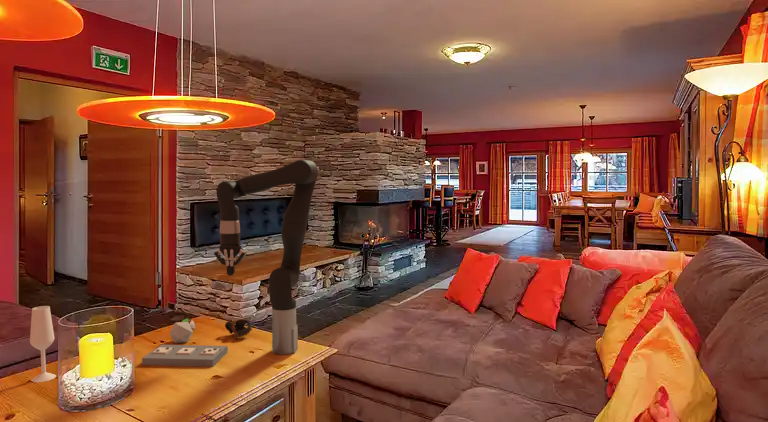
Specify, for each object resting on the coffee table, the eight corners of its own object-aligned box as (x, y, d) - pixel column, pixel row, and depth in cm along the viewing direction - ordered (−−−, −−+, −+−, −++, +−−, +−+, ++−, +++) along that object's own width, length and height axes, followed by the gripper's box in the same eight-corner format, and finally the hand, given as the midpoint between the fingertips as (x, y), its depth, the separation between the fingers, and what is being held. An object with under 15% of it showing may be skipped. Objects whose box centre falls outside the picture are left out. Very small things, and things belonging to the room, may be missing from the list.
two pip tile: (172, 355, 181) (172, 346, 181) (166, 360, 176) (165, 351, 176) (159, 355, 181) (159, 346, 181) (152, 360, 176) (152, 351, 176)
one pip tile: (195, 355, 181) (195, 347, 180) (190, 360, 176) (189, 352, 175) (183, 355, 181) (182, 347, 181) (176, 360, 176) (176, 351, 176)
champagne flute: (61, 374, 163) (58, 305, 161) (43, 383, 156) (40, 311, 155) (44, 373, 164) (41, 304, 162) (26, 381, 157) (23, 310, 156)
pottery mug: (254, 333, 210) (255, 319, 205) (245, 349, 202) (246, 335, 197) (228, 325, 210) (229, 312, 206) (218, 341, 202) (219, 327, 198)
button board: (227, 352, 185) (227, 345, 185) (213, 366, 171) (213, 359, 171) (162, 350, 186) (161, 344, 186) (142, 364, 172) (142, 358, 172)
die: (181, 348, 191) (195, 326, 194) (162, 337, 191) (177, 315, 194) (185, 348, 199) (199, 327, 202) (167, 338, 199) (181, 317, 202)
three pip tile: (219, 356, 180) (219, 347, 180) (214, 361, 175) (213, 352, 175) (206, 356, 181) (206, 347, 180) (200, 361, 176) (200, 352, 175)
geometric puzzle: (172, 330, 204) (181, 316, 203) (182, 325, 211) (191, 312, 210) (183, 341, 204) (193, 327, 202) (193, 335, 210) (202, 322, 209)
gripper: (249, 230, 191) (250, 273, 192) (217, 230, 192) (218, 273, 193) (243, 233, 184) (244, 277, 185) (209, 232, 184) (210, 277, 185)
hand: (230, 275), depth 189 cm, fingers closed
